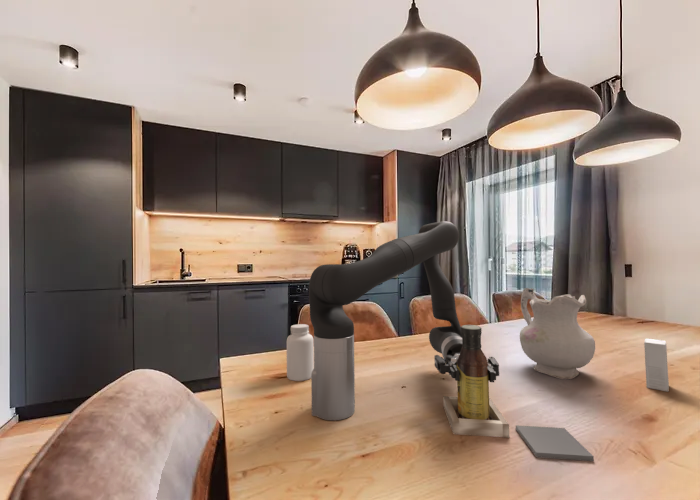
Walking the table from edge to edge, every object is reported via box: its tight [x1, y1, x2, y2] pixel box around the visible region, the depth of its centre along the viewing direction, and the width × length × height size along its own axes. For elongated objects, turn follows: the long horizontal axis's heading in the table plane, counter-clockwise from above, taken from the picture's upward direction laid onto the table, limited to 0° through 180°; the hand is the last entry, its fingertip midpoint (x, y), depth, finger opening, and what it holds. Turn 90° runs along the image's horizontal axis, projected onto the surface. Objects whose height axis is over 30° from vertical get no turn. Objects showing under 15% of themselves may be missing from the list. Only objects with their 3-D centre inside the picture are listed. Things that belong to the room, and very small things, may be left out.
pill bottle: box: [286, 323, 314, 382], centre depth 93 cm, size 8×8×15 cm
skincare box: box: [643, 338, 670, 393], centre depth 83 cm, size 6×4×12 cm
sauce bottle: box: [456, 324, 490, 420], centre depth 66 cm, size 6×6×20 cm
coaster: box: [515, 424, 595, 462], centre depth 57 cm, size 9×9×1 cm
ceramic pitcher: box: [519, 287, 596, 380], centre depth 97 cm, size 22×20×25 cm
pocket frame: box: [442, 395, 510, 439], centre depth 66 cm, size 10×11×2 cm
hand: (475, 376), depth 64 cm, fingers closed on sauce bottle, 6 cm apart
